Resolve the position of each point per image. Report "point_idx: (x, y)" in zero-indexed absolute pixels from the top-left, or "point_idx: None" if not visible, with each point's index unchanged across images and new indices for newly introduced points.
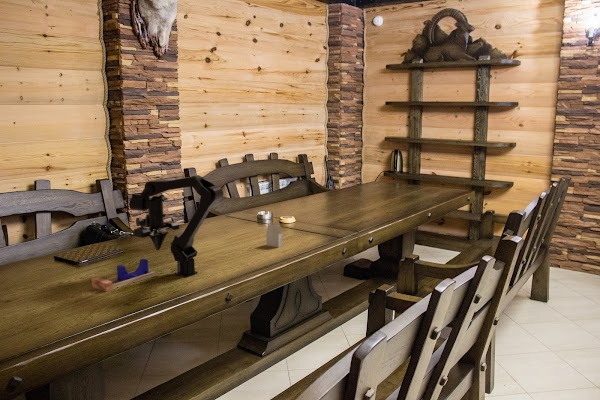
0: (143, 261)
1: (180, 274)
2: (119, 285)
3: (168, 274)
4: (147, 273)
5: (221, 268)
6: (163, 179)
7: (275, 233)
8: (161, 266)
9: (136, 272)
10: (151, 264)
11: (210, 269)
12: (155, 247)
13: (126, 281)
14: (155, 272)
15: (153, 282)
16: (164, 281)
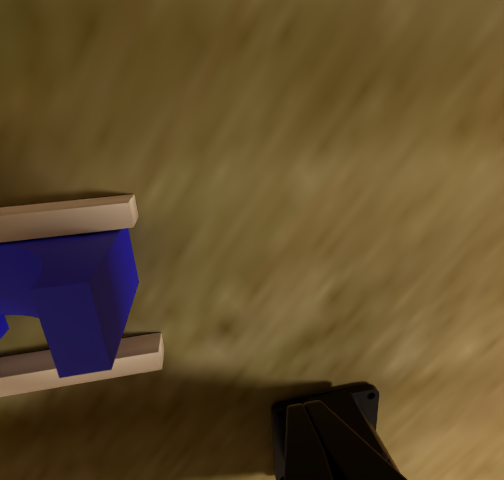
0: (56, 350)
1: (275, 451)
2: None
3: (242, 377)
4: None
5: (493, 452)
6: None
7: None
8: (338, 177)
9: (6, 282)
10: (327, 40)
11: (454, 437)
12: (285, 448)
13: None
14: (158, 366)
15: (70, 452)
16: (139, 470)
